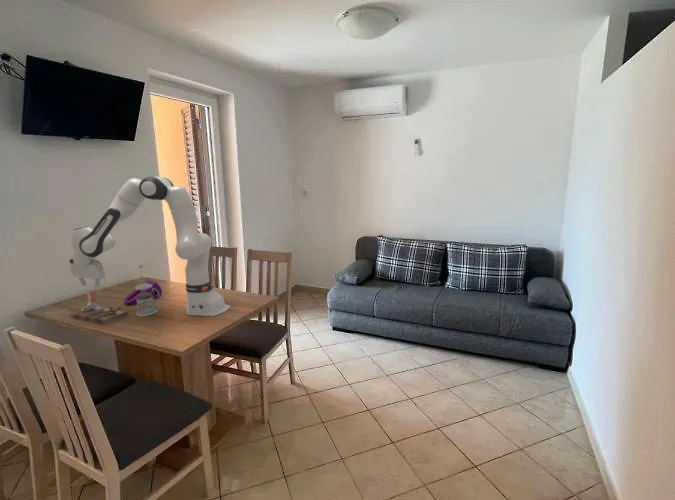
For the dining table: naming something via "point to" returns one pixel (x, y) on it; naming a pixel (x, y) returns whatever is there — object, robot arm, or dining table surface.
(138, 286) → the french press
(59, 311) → the dining table surface
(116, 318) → the gauge board
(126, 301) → the purple curved piece
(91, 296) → the sliding divider leg
